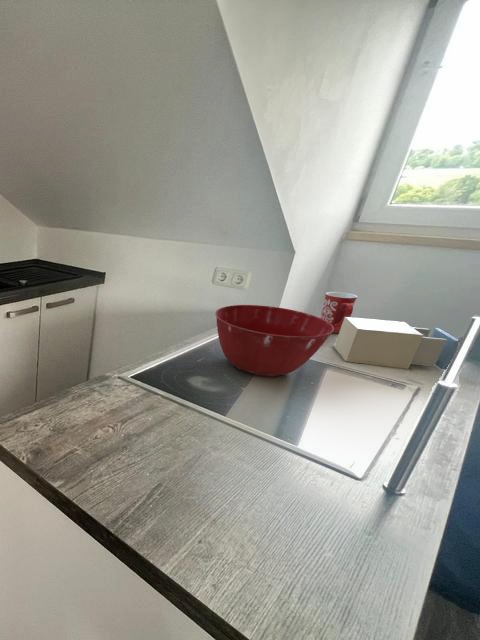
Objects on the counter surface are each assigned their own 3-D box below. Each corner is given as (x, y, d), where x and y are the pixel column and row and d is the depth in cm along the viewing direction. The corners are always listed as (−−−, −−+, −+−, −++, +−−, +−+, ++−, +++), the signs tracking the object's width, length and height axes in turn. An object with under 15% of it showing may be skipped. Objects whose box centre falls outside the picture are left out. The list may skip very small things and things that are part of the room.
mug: (310, 325, 150) (321, 291, 144) (338, 327, 147) (350, 292, 142) (324, 336, 139) (336, 299, 133) (354, 338, 136) (368, 301, 131)
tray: (447, 357, 118) (461, 330, 114) (469, 372, 108) (484, 343, 105) (371, 349, 125) (381, 323, 121) (385, 362, 116) (396, 334, 112)
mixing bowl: (341, 378, 109) (360, 326, 103) (267, 397, 100) (284, 341, 94) (250, 344, 133) (262, 300, 127) (185, 357, 125) (194, 311, 118)
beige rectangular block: (390, 353, 124) (404, 321, 119) (408, 368, 113) (423, 335, 109) (334, 347, 130) (344, 316, 125) (345, 361, 119) (357, 328, 115)
